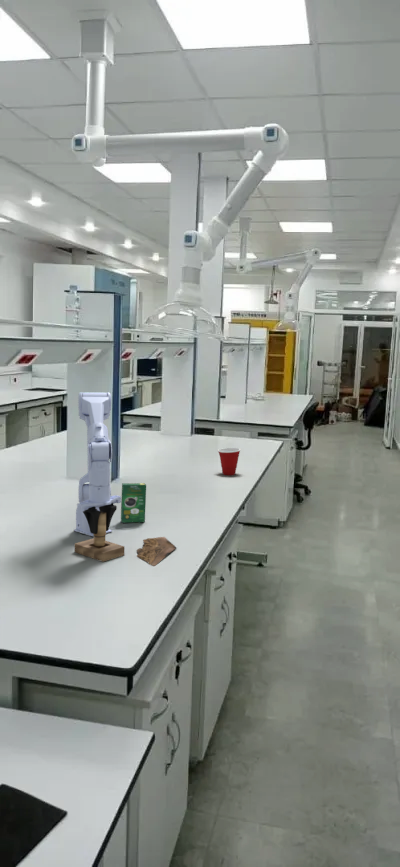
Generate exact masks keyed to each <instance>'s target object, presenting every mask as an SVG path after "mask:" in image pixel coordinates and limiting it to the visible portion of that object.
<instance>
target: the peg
mask: <svg viewBox="0 0 400 867" xmlns="http://www.w3.org/2000/svg"><path fill="white" fill-rule="evenodd" d="M93 535H94V537H93V538H94V545H95V546H104V545H105V541H106V535H107V533H106V513H105V512H101V513H100V516H99V520H98V532H97V534H93Z"/></svg>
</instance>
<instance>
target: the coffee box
mask: <svg viewBox="0 0 400 867" xmlns="http://www.w3.org/2000/svg"><path fill="white" fill-rule="evenodd" d="M146 502H147V484H146V483H144V482H143V483H142V482H138V483H136V482H135V483H133V482H131V483H128V482H127V483H125V482H123V483H121V503H120V504H121V505H120V506H121V508H120V522H121V524H122V523H123V524H124V523H125V524H128V523H145V522H146Z"/></svg>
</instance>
